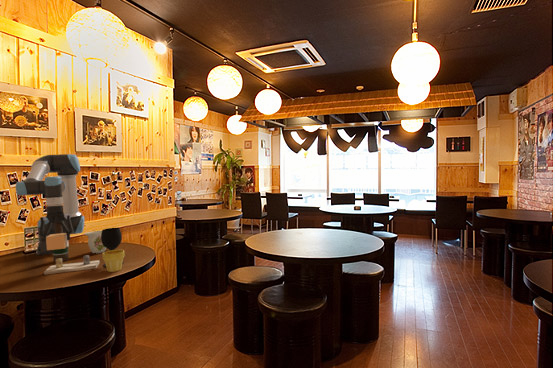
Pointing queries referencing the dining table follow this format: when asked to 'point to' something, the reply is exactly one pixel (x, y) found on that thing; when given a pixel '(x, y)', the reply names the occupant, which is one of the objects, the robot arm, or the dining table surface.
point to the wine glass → (111, 238)
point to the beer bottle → (60, 252)
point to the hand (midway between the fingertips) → (57, 247)
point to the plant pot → (113, 260)
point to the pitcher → (95, 242)
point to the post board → (72, 266)
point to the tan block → (56, 241)
